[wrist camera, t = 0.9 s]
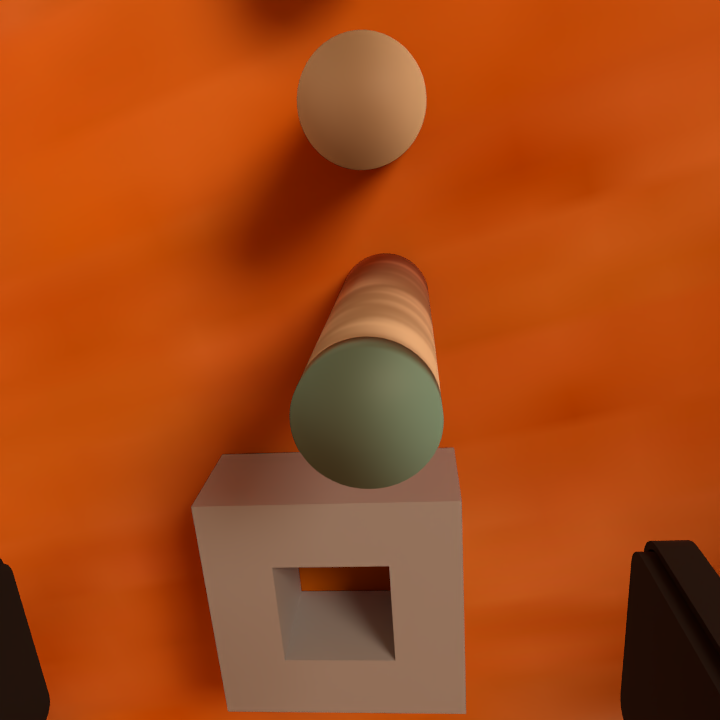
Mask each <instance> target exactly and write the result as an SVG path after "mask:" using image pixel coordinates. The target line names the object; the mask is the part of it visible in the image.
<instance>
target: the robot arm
mask: <svg viewBox="0 0 720 720" xmlns="http://www.w3.org/2000/svg"><path fill="white" fill-rule="evenodd" d="M49 707H50V698H49V693H48V690H47V686H46V683H45V680H44V676H43V673H42V669H41V666H40V663H39V659H38V656H37V653H36V649H35V646H34V642H33V639H32V636H31V632H30V629H29V626H28V622H27V619H26V616H25V612H24V609H23V605H22V602H21V599H20V595H19V592H18V589H17V585H16V582H15V578H14V575H13V572H12V570H11V568H10V567H9V566H8V565H6V564H3V561H2V560H1V559H0V720H46V719H47V716H48V712H49ZM621 709H622V715H623V719H624V720H720V577H719V576H718V574H717V573H716V572H715V570H714V569H713V567H712V566H711V565H710V563H709V562H708V561H707V559H706V558H705V556H704V555H703V554H702V552H701V551H700V550H699V548H698V547H697V546H696V545H695V544H694V542H692V541H689V540H675V541H649V542H647V543H646V545H645V548H644V552H635V553H634V554H633V556H632V561H631V573H630V586H629V598H628V610H627V622H626V635H625V647H624V659H623V671H622V684H621Z"/></svg>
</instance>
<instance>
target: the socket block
mask: <svg viewBox="0 0 720 720" xmlns="http://www.w3.org/2000/svg"><path fill="white" fill-rule="evenodd" d="M191 509H192V514H193V520H194V525H195V531H196V536H197V542H198V547H199V553H200V558H201V564H202V570H203V575H204V581H205V586H206V592H207V597H208V603H209V608H210V614H211V619H212V625H213V630H214V636H215V641H216V647H217V652H218V658H219V664H220V669H221V675H222V680H223V686H224V691H225V697H226V702H227V708H228V711H243V712H344V713H445V714H466V687H465V640H464V592H463V545H462V501H461V494H460V487H459V480H458V473H457V466H456V459H455V452H454V448H437V450H436V452H435V454H434V455H433V457H432V458H431V459H430V461H429V462H428V463H427V464H426V465H425V466H424V468H423V469H421V470H420V471H419V472H418V473H417V474H415V475H414V476H412V477H411V478H409V479H407V480H405V481H403V482H401V483H399V484H396V485H393V486H389V487H385V488H378V489H360V488H353V487H349V486H345V485H342V484H339V483H337V482H334V481H332V480H330V479H328V478H326V477H325V476H323V475H322V474H320V473H319V472H317V471H316V470H315V469H314V468H313V467H312V466H311V465H310V464H309V463H308V462H307V461H306V460H305V458H304V457H303V456H302V454H301V453H300V452H291V453H257V454H223V455H222V456H221V458H220V459H219V461H218V463H217V464H216V466H215V468H214V469H213V471H212V473H211V474H210V476H209V478H208V479H207V481H206V483H205V485H204V486H203V488H202V490H201V491H200V493H199V495H198V496H197V498H196V500H195V501H194V503H193V505H192V506H191ZM369 566H389V571H390V586H391V591H301V584H300V576H299V568H298V567H369Z"/></svg>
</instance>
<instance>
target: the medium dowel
mask: <svg viewBox="0 0 720 720" xmlns="http://www.w3.org/2000/svg"><path fill="white" fill-rule="evenodd" d="M297 109H298V116H299V120H300V123H301V126H302V128H303V131H304V133H305V135H306V137H307V138H308V140H309V142H310V143H311V144H312V146H313V147H314V148H315V149H316V150H317V151H318V152H319V153H320V154H321V155H322V156H323V157H325V158H326V159H327V160H329V161H331V162H332V163H334V164H336V165H339V166H341V167H344V168H348V169H354V170H368V169H375V168H378V167H382V166H384V165H386V164H389V163H390V162H392V161H394V160H395V159H397V158H398V157H399V156H401V155H402V154H403V153H404V152H405V151H406V150H407V149H408V148H409V147H410V146H411V144H412V143H413V142H414V140H415V138H416V137H417V135H418V133H419V131H420V129H421V126H422V124H423V120H424V116H425V110H426V88H425V83H424V79H423V76H422V73H421V70H420V68H419V66H418V64H417V62H416V61H415V59H414V58H413V56H412V55H411V54H410V53H409V52H408V50H407V49H406V48H405V47H404V46H402V45H401V44H400V43H399V42H398V41H396V40H394V39H393V38H391V37H389V36H387V35H385V34H383V33H379V32H376V31H370V30H354V31H348V32H345V33H342V34H339V35H337V36H335V37H333V38H331V39H329V40H328V41H326V42H325V43H324V44H322V45H321V46H320V47H319V48H318V49H317V50H316V51H315V52H314V54H313V55H312V56H311V57H310V59H309V60H308V62H307V63H306V66H305V68H304V70H303V72H302V75H301V78H300V81H299V85H298V91H297Z"/></svg>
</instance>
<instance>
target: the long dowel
mask: <svg viewBox="0 0 720 720" xmlns="http://www.w3.org/2000/svg"><path fill="white" fill-rule="evenodd" d="M443 420H444V418H443V409H442V401H441V392H440V384H439V376H438V368H437V360H436V351H435V343H434V335H433V327H432V319H431V310H430V302H429V294H428V287H427V283H426V280H425V278H424V276H423V274H422V273H421V271H420V270H419V269H418V268H417V267H416V265H415V264H413V263H412V262H411V261H409V260H408V259H406V258H404V257H401V256H399V255H395V254H376V255H372V256H370V257H367V258H365V259H364V260H362V261H360V262H359V263H358V264H357V265H356V266H355V267H354V268H353V269H352V270H351V272H350V273H349V275H348V277H347V279H346V281H345V283H344V285H343V287H342V289H341V292H340V294H339V296H338V298H337V300H336V302H335V305H334V307H333V309H332V311H331V313H330V316H329V318H328V320H327V322H326V324H325V326H324V329H323V331H322V333H321V335H320V337H319V339H318V342H317V344H316V346H315V348H314V350H313V352H312V355H311V357H310V359H309V361H308V363H307V366H306V368H305V370H304V372H303V374H302V376H301V379H300V381H299V383H298V385H297V387H296V390H295V392H294V395H293V397H292V401H291V405H290V427H291V432H292V435H293V438H294V441H295V444H296V446H297V448H298V450H299V451H300V453H301V454H302V456H303V457H304V458H305V460H306V461H307V462H308V463H309V464H310V465H311V466H312V467H313V468H314V469H315V470H316V471H317V472H319V473H320V474H322V475H323V476H325V477H326V478H328V479H330V480H332V481H334V482H337V483H339V484H342V485H345V486H349V487H353V488H360V489H378V488H385V487H389V486H393V485H396V484H399V483H401V482H403V481H405V480H407V479H409V478H411V477H412V476H414V475H415V474H417V473H418V472H419V471H420V470H421V469H423V468H424V466H425V465H426V464H427V463H428V462H429V461H430V459H431V458H432V457H433V455H434V454H435V452H436V450H437V448H438V446H439V443H440V440H441V437H442V432H443Z"/></svg>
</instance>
